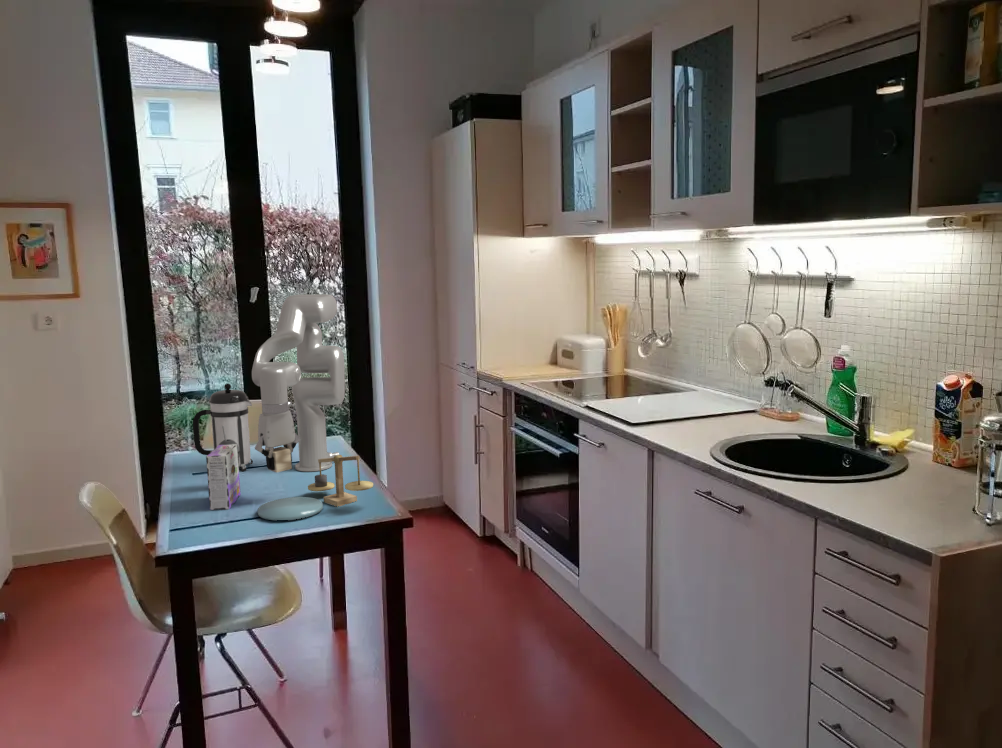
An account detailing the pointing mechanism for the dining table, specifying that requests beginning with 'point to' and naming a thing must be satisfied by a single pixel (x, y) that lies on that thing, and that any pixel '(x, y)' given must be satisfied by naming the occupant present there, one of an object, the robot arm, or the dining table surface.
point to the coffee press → (227, 422)
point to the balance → (339, 482)
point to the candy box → (223, 477)
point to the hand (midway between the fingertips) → (279, 466)
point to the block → (281, 459)
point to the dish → (290, 508)
